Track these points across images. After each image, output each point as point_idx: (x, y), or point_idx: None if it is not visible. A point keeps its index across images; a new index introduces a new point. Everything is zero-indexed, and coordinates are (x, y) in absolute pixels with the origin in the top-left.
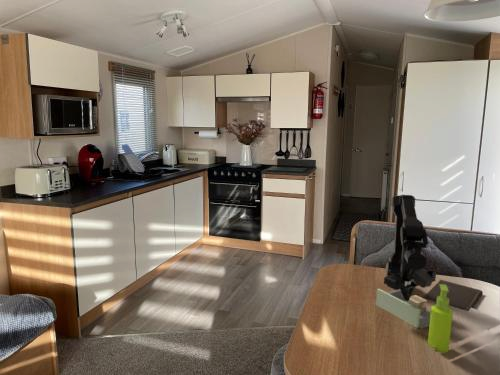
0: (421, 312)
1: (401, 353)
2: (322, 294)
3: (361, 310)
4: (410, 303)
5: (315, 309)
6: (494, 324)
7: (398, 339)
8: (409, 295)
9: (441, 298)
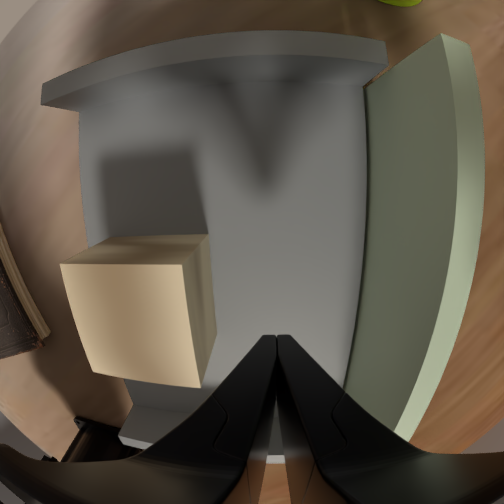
0: (157, 232)
1: None
2: None
3: None
4: (200, 325)
5: (497, 414)
6: None
7: (495, 120)
8: (274, 373)
9: None
